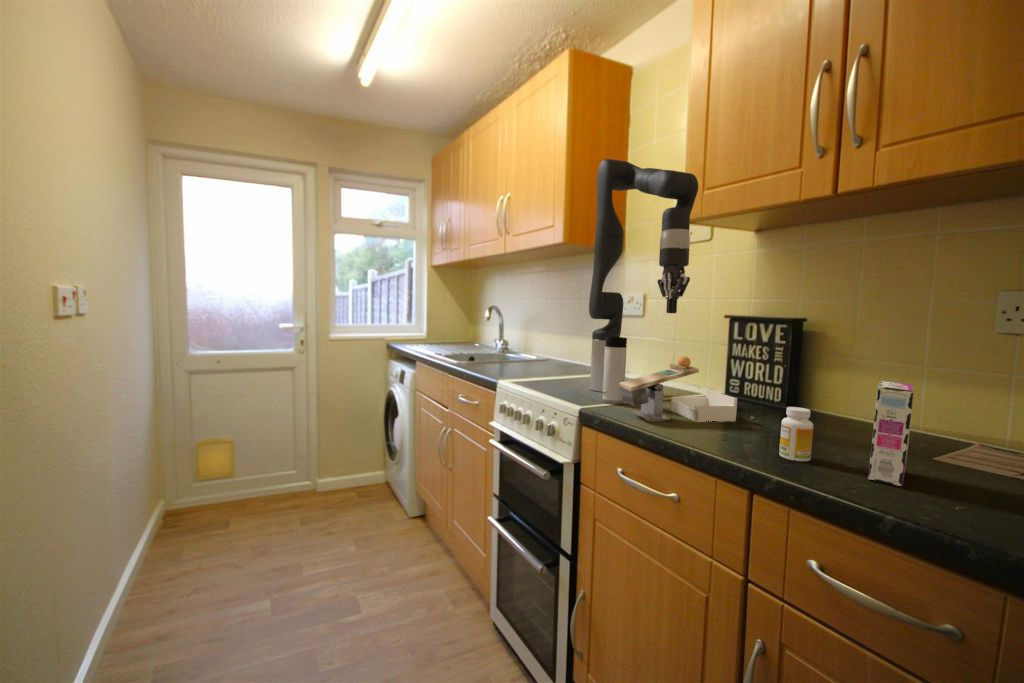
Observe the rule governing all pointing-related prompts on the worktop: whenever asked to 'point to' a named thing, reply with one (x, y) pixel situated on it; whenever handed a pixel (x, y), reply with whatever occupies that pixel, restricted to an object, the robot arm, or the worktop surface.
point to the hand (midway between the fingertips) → (671, 313)
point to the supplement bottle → (796, 435)
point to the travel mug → (614, 369)
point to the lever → (651, 383)
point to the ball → (684, 361)
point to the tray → (706, 407)
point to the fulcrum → (653, 404)
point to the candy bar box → (891, 432)
